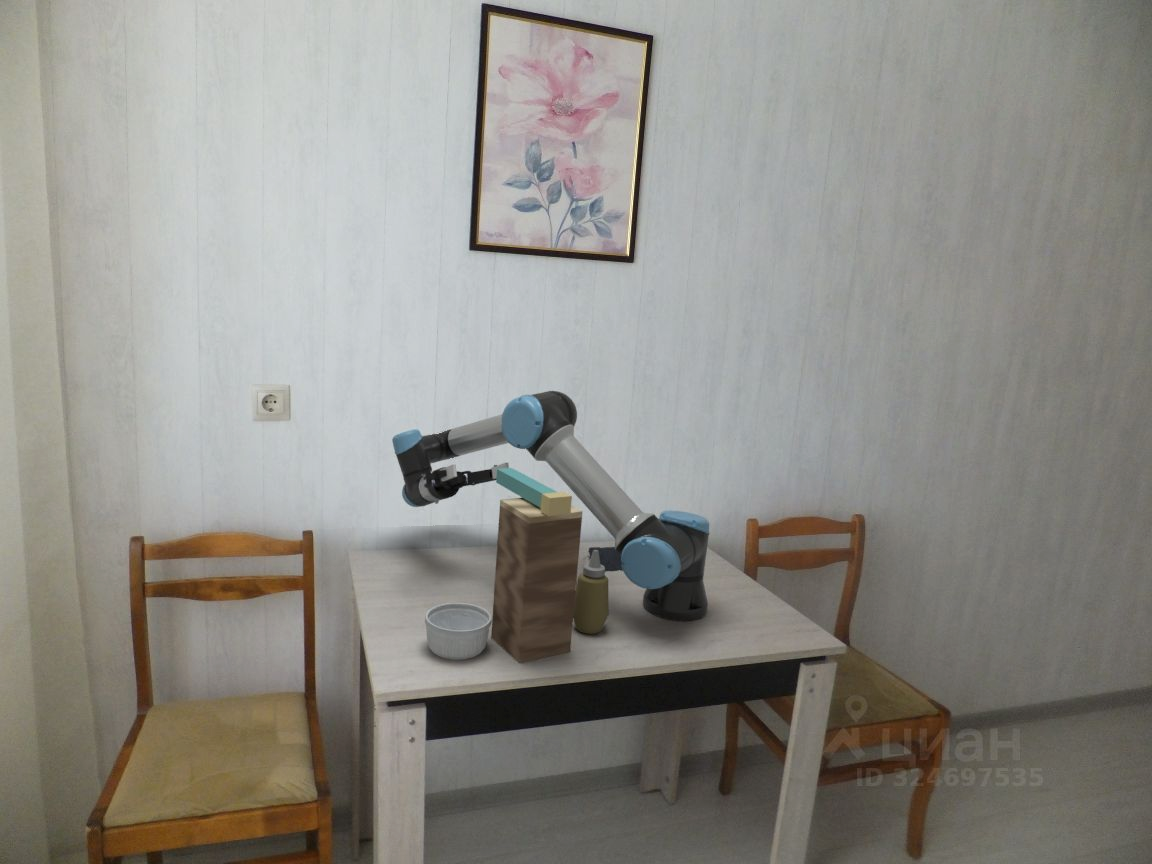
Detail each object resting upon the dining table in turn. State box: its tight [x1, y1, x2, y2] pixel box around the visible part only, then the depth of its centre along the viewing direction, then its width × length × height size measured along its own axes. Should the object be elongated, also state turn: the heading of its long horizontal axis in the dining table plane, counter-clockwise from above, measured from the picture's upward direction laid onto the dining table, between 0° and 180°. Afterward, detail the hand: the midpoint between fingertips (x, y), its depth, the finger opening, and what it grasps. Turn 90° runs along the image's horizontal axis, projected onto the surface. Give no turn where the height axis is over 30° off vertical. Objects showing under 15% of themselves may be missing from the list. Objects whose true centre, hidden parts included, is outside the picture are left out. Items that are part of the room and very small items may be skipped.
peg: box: [495, 467, 573, 516], centre depth 170 cm, size 23×5×4 cm, turn 33°
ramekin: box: [424, 602, 492, 661], centre depth 169 cm, size 13×13×7 cm
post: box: [490, 497, 583, 664], centre depth 170 cm, size 12×12×30 cm
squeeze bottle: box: [573, 550, 610, 635], centre depth 181 cm, size 8×8×18 cm
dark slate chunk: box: [587, 546, 624, 572], centre depth 227 cm, size 15×22×5 cm
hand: (481, 469), depth 190 cm, fingers open, 13 cm apart
